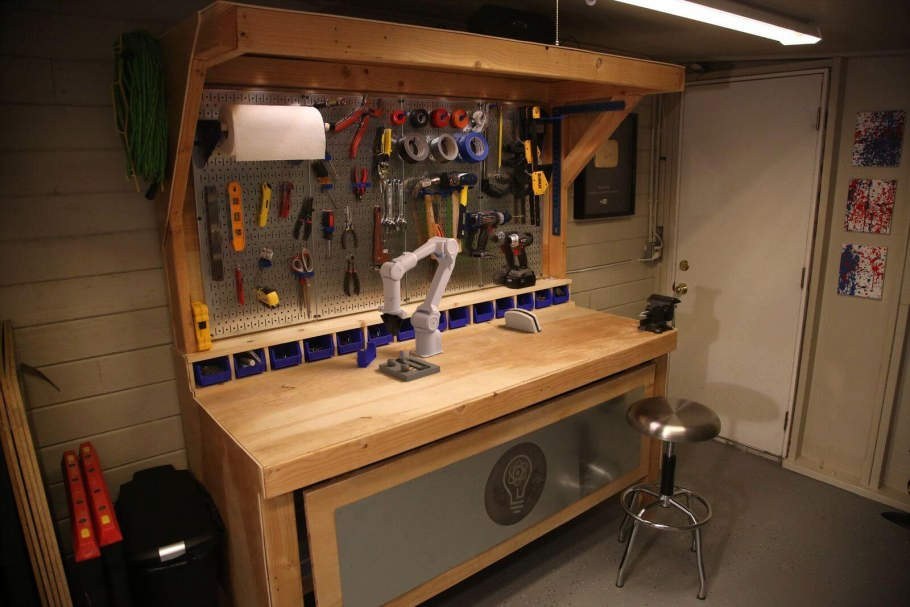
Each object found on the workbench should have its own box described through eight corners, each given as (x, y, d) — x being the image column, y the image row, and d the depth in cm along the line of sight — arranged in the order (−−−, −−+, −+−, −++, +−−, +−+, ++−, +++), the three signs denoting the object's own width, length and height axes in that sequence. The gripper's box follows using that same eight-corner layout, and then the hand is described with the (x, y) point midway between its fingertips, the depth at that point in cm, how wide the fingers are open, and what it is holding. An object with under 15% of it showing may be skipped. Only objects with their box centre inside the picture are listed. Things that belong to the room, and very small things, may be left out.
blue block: (364, 357, 225) (364, 341, 223) (376, 357, 224) (375, 341, 222) (353, 367, 213) (352, 351, 212) (365, 368, 212) (365, 351, 211)
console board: (411, 360, 219) (410, 350, 218) (440, 371, 207) (440, 360, 206) (379, 369, 210) (378, 358, 209) (407, 381, 198) (407, 370, 197)
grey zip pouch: (543, 331, 255) (538, 310, 251) (536, 336, 252) (531, 316, 248) (513, 323, 267) (508, 304, 262) (506, 329, 264) (501, 309, 260)
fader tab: (406, 359, 214) (405, 348, 213) (409, 360, 212) (409, 349, 211) (400, 361, 212) (399, 349, 211) (403, 362, 211) (403, 351, 210)
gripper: (370, 295, 214) (371, 332, 217) (395, 301, 204) (395, 341, 207) (386, 292, 219) (387, 329, 222) (411, 298, 208) (412, 337, 211)
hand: (392, 334), depth 214 cm, fingers open, 3 cm apart
